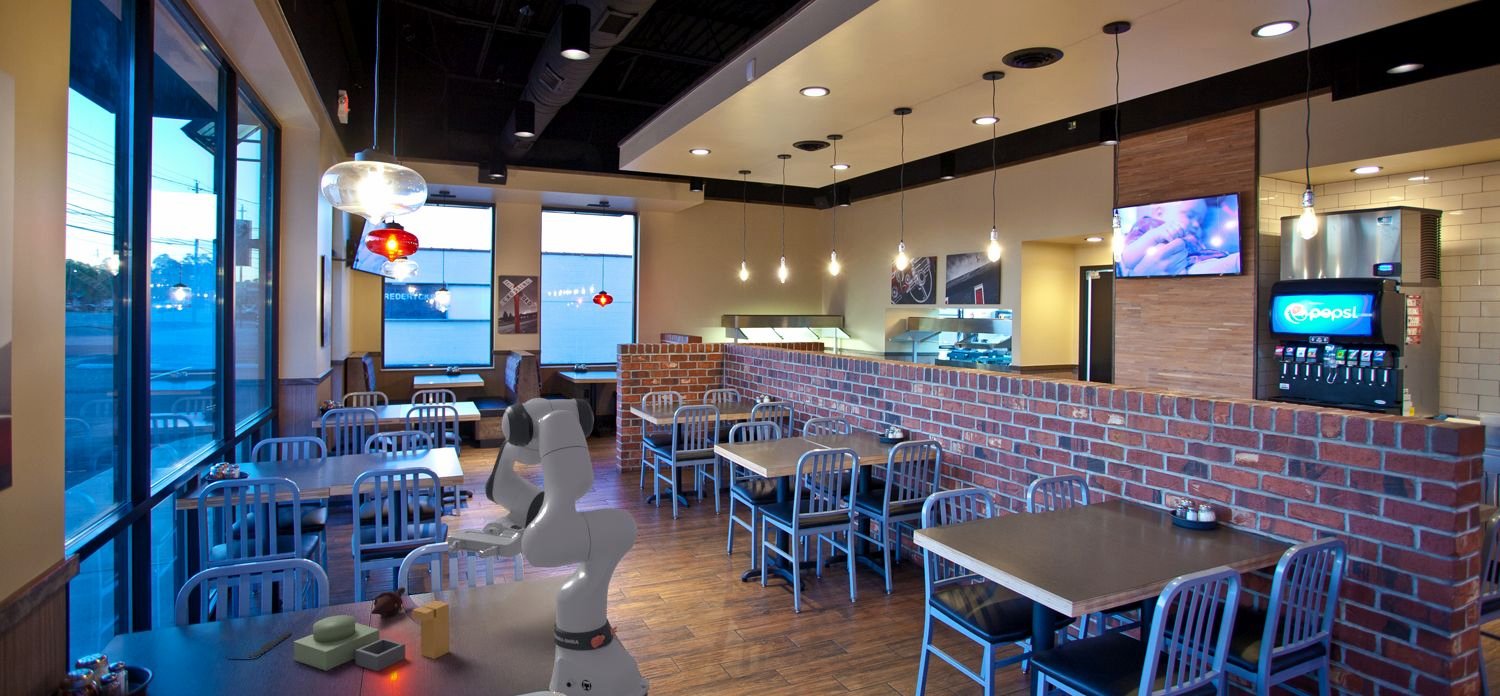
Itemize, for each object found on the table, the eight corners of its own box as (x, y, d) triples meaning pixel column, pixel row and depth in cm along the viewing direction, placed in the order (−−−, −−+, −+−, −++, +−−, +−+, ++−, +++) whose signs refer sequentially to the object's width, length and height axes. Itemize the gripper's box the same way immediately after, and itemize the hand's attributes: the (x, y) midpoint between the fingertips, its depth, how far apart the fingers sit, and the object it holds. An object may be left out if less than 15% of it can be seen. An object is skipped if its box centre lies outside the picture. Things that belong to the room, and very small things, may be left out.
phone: (293, 631, 198) (255, 657, 183) (294, 635, 198) (255, 660, 183) (265, 631, 198) (224, 657, 183) (265, 634, 198) (224, 660, 183)
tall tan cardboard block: (449, 651, 187) (448, 603, 187) (426, 662, 181) (425, 613, 181) (436, 647, 189) (435, 600, 189) (413, 658, 183) (412, 609, 183)
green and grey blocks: (409, 656, 185) (409, 625, 184) (356, 681, 172) (356, 648, 172) (348, 637, 195) (347, 608, 195) (294, 659, 182) (293, 629, 182)
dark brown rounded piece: (388, 603, 201) (417, 588, 216) (363, 595, 202) (393, 580, 217) (381, 629, 201) (410, 612, 216) (355, 621, 202) (386, 604, 216)
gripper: (466, 520, 212) (432, 536, 199) (530, 529, 206) (499, 545, 193) (467, 542, 213) (432, 559, 200) (530, 551, 207) (499, 569, 194)
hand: (465, 552), depth 196 cm, fingers open, 8 cm apart
